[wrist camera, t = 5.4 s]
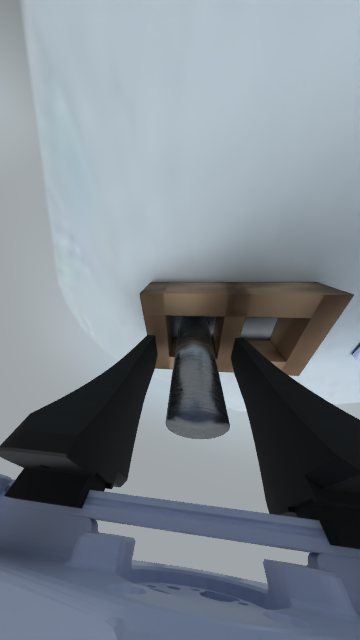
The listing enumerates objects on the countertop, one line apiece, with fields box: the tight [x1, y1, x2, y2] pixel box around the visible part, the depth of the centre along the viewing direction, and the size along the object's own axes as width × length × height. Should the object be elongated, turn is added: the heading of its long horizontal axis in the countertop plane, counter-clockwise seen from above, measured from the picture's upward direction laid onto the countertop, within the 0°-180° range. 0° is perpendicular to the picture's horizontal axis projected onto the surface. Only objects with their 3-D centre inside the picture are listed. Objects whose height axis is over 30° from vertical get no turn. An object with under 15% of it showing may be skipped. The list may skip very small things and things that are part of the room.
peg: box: [166, 316, 230, 439], centre depth 10 cm, size 3×3×9 cm
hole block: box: [140, 282, 354, 376], centre depth 12 cm, size 14×8×3 cm, turn 91°
